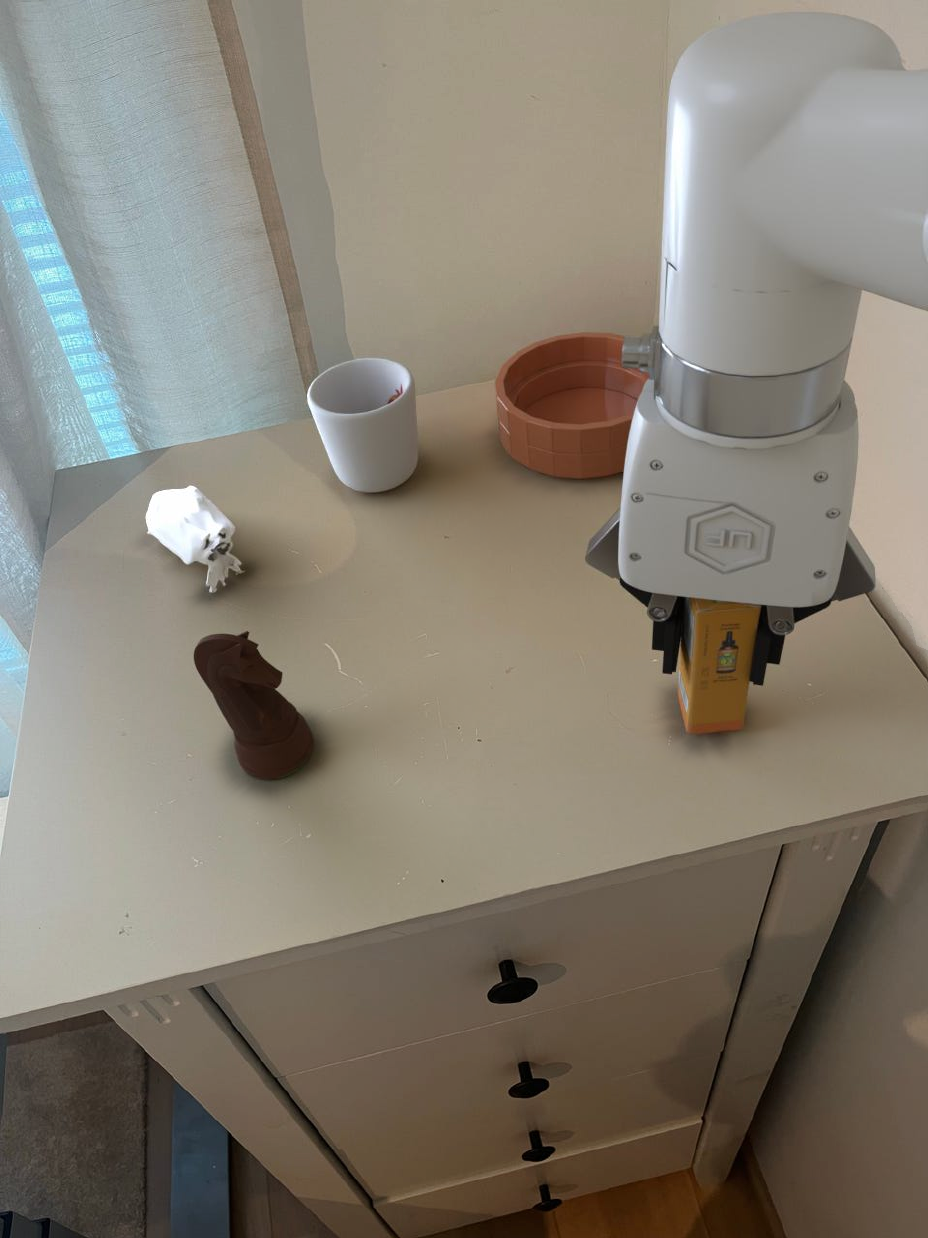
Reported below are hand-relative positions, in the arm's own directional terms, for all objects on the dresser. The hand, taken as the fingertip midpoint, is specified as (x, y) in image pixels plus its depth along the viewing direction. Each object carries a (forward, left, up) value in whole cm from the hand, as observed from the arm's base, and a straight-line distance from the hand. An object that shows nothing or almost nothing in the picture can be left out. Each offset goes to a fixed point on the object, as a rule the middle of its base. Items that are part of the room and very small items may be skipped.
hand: (714, 658), depth 53 cm
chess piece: (+25, +7, -5) cm, 26 cm away
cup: (+28, -21, -5) cm, 35 cm away
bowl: (+12, -27, -5) cm, 30 cm away
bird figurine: (+38, -9, -5) cm, 39 cm away
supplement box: (0, 0, -5) cm, 5 cm away
